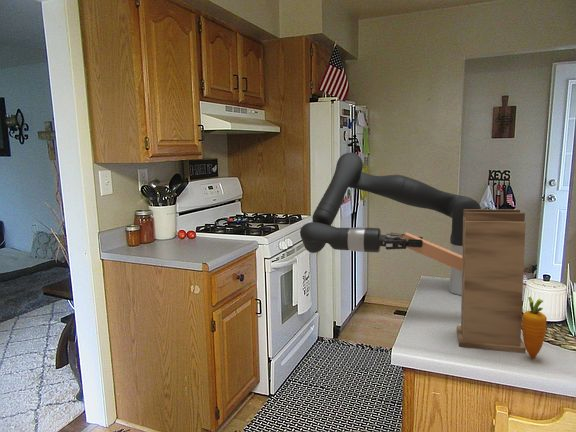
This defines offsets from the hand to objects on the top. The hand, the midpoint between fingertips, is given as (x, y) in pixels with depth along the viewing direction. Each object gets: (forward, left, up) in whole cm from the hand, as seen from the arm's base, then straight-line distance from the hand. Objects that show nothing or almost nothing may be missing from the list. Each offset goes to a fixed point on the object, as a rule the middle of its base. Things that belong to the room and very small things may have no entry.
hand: (422, 242), depth 127 cm
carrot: (+22, +25, -23) cm, 41 cm away
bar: (0, +4, -5) cm, 6 cm away
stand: (+14, +17, -23) cm, 32 cm away
